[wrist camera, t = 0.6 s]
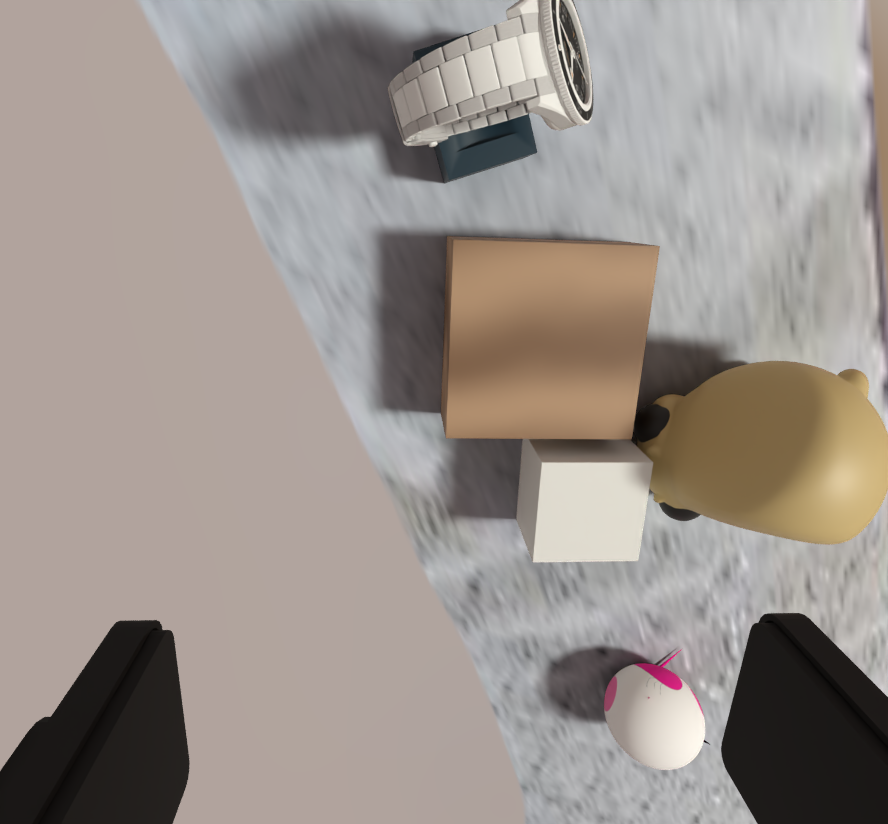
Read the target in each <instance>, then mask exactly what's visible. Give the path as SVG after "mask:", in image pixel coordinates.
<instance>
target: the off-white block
mask: <svg viewBox="0 0 888 824" xmlns="http://www.w3.org/2000/svg"><path fill="white" fill-rule="evenodd" d="M652 468H653V462H652V461H651V460H650V459H649V458H648V457H647V456H646V455H645V454H644V453H643V452H642V451H641V450H640V449H639V448H638V447H637V446H636V445H635V444H634V443H633V442H632V441H631V440H630V439H523V440H522V453H521V466H520V478H519V491H518V503H517V516H516V520H517V522H518V525H519V528H520V530H521V533H522V535H523V538H524V541H525V543H526V546H527V548H528V551H529V554H530V556H531V559H532V561H533V562H592V561H638V558H639V551H640V545H641V538H642V532H643V525H644V519H645V513H646V506H647V500H648V493H649V487H650V481H651V474H652Z"/></svg>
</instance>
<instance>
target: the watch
mask: <svg viewBox="0 0 888 824" xmlns="http://www.w3.org/2000/svg"><path fill="white" fill-rule="evenodd" d="M506 14H507V18H508V21H505V22H502V23H499V24H497V25H492V26H490V27H487V28H485V29H481V30H478V31H475V32H472V33H469V34H466V35H463V36H460V37H457V38H454V39H451V40H448V41H445V42H441V43H438V44H435V45H432V46H429V47H426V48H423V49H420V50H417V51H414V53H413V63H412V65H410V66H409V67H407V68H406V69H405V70H404V71H402V72H401V73H399V74H398V75H397V76H396V77H395V78H394V79H393V80H392V81H391V83H390V84H389V86H388V88H387V89H388V93H389V98H390V102H391V106H392V109H393V113H394V116H395V120H396V123H397V126H398V129H399V132H400V135H401V138H402V140H403V143H404V144H405V145H406V146H421V145H428V144H429V147H434V148H435V152H436V155H437V159H438V162H439V166H440V170H441V173H442V177H443V180H444V183H447V182H450V181H453V180H457V179H460V178H463V177H466V176H469V175H472V174H475V173H478V172H482V171H485V170H488V169H491V168H494V167H497V166H500V165H504V164H507V163H510V162H513V161H516V160H519V159H522V158H525V157H528V156H530V155H532V154H535V153H537V149H536V144H535V140H534V136H533V131H532V127H531V122H530V118H529V113H535V114H538V115H541V117H542V118H543V120H544V121H545V122H546V124H547V125H548V126H549V127H550V128H551V129H553V130H564V129H567V128H570V127H573V126H576V125H580V126H582V125H585V124H588V123H589V122H590V120H591V117H592V111H593V85H592V75H591V68H590V62H589V56H588V51H587V47H586V42H585V38H584V34H583V30H582V26H581V23H580V19H579V16H578V13H577V10H576V7H575V5H574V2H573V0H519V1H518V2H517V3H515V4H514V5H513V6H511V7H510V8H509V9H507V11H506Z"/></svg>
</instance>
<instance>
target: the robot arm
mask: <svg viewBox="0 0 888 824" xmlns="http://www.w3.org/2000/svg"><path fill="white" fill-rule="evenodd" d="M721 752H722V758H723V762H724V765H725V768H726V770H727V772H728V774H729V775H730V777H731V779H732V780H733V782H734V784H735V786H736V787H737V789H738V791H739V792H740V794H741V796H742V798H743V799H744V801H745V803H746V804H747V806H748V808H749V810H750V811H751V813H752V815H753V816H754V818H755V820H756V822H757V823H758V824H888V697H887V696H886V695H885V694H884V693H883V692H882V691H881V690H880V689H879V688H878V687H877V686H876V685H875V684H874V683H873V682H872V681H871V680H870V679H869V678H868V677H867V676H866V675H865V674H864V673H863V672H862V671H861V670H860V669H859V668H858V667H857V666H856V665H855V664H854V663H853V662H852V661H851V660H850V659H849V658H848V657H847V656H846V655H845V654H844V653H843V652H842V651H841V650H840V649H839V648H838V647H837V646H836V645H835V644H834V643H833V642H832V641H831V640H830V639H829V638H828V637H827V636H826V635H825V634H824V633H823V632H822V631H821V630H820V629H819V628H818V627H817V626H816V625H815V624H814V623H813V622H812V621H811V620H810V619H809V618H808V617H806V616H805V615H803V614H800V613H771V614H764V615H763V616H762V617H761V618H760V621H759V623H755V624H754V625H753V626H752V628H751V630H750V634H749V638H748V642H747V646H746V650H745V654H744V658H743V662H742V666H741V670H740V674H739V677H738V681H737V685H736V689H735V693H734V697H733V701H732V705H731V709H730V713H729V717H728V721H727V725H726V729H725V733H724V737H723V741H722V746H721ZM188 774H189V754H188V746H187V738H186V730H185V723H184V714H183V707H182V699H181V691H180V682H179V674H178V667H177V659H176V651H175V643H174V636H173V633H172V631H170V630H162V626H161V624H160V622H159V621H157V620H153V621H152V620H149V621H148V620H145V621H118V622H116V623H115V624H114V626H113V627H112V628H111V629H110V631H109V632H108V634H107V635H106V637H105V638H104V640H103V641H102V643H101V644H100V646H99V647H98V649H97V650H96V651H95V653H94V655H93V656H92V657H91V659H90V660H89V662H88V663H87V665H86V666H85V668H84V669H83V670H82V672H81V673H80V675H79V676H78V678H77V679H76V681H75V682H74V684H73V685H72V687H71V688H70V690H69V691H68V692H67V694H66V695H65V697H64V698H63V700H62V701H61V703H60V704H59V706H58V707H57V709H56V710H55V712H54V713H53V714H52V716H51V717H44V718H42V719H41V720H39V721H38V722H36V723H35V724H34V726H33V727H32V728H31V729H30V730H29V731H28V733H27V734H26V735H25V737H24V738H23V740H22V741H21V742H20V744H19V745H18V747H17V748H16V749H15V751H14V752H13V754H12V755H11V757H10V758H9V759H8V761H7V762H6V764H5V765H4V766H3V768H2V770H1V771H0V824H172V823H173V821H174V818H175V815H176V813H177V810H178V807H179V804H180V801H181V799H182V796H183V793H184V791H185V788H186V784H187V780H188Z"/></svg>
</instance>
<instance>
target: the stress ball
mask: <svg viewBox="0 0 888 824" xmlns="http://www.w3.org/2000/svg"><path fill="white" fill-rule="evenodd" d="M681 650H682V649H681ZM681 650H680V651H681ZM680 651H679V652H680ZM677 653H678V652H677ZM677 653H676V654H677ZM676 654H675V655H676ZM675 655H673V656H672V657H671V658H670V659H668V660H667V661H666V662H664V663H663V664H662V665H660V666H657V665H653V664H646V663H640V664H633V665H630V666H627V667H625V668H623V669H621V670H620V671H619V672H618V673H616V674H615V676H614V677H613V678H612V679H611V681H610V682H609V684H608V687H607V689H606V693H605V698H604V711H605V717H606V721H607V724H608V727H609V729H610V731H611V733H612V735H613V737H614V738H615V740H616V741H617V743H618V744H619V745H620V747H621V748H622V749H623V750H624V751H625V752H626V753H627V754H628V755H630V756H631V757H632V758H633V759H635V760H636V761H638V762H640V763H641V764H644V765H646V766H648V767H651V768H655V769H660V770H672V769H677V768H680V767H683V766H685V765H687V764H688V763H690V762H691V761H692V760H693V759H694V758H695V757H696V756H697V754H698V753H699V751H700V749H701V747H702V745H703V742H705V743H708V742H706V741H705V740H704V737H705V721H704V715H703V712H702V709H701V706H700V704H699V702H698V700H697V698H696V696H695V694H694V693H693V692H692V690H691V689H690V688H689V686H688V685H687V684H686V683H685V682H684V681H683V680H682V679H681V678H679V677H678V676H677V675H676V674H674V673H673V672H671V671H669V670H667V669H665V668H663V667H664V666H665V665H666V664H667V663H668V662H669V661H670V660H671V659H672V658H673V657H674V656H675ZM708 744H709V743H708Z"/></svg>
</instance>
